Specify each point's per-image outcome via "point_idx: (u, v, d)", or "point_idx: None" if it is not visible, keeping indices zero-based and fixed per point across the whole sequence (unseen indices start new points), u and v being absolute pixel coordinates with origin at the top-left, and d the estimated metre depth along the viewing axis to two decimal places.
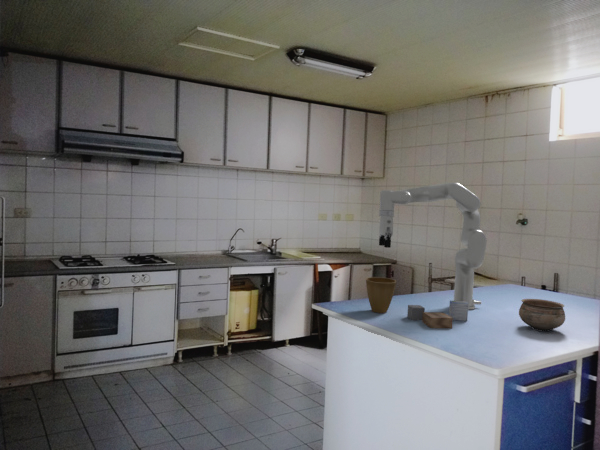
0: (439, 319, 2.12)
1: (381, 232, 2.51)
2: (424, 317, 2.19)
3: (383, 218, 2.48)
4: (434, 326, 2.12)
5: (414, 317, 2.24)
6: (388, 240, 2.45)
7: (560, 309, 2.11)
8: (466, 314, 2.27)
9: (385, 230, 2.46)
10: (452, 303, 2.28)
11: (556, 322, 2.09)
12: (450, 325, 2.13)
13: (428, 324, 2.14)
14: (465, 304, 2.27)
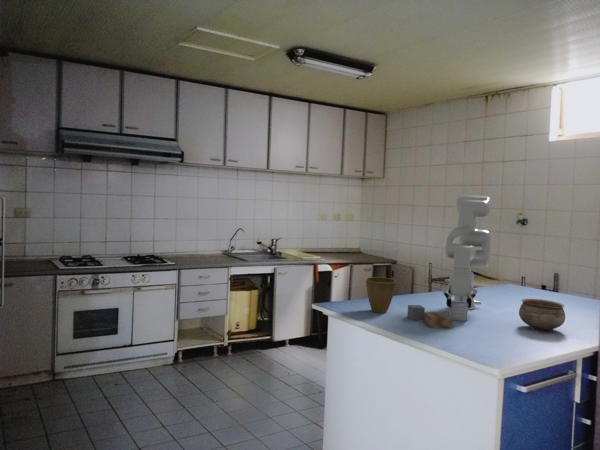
0: (438, 319, 2.12)
1: (462, 292, 2.27)
2: (424, 317, 2.19)
3: (468, 277, 2.27)
4: (433, 326, 2.12)
5: (414, 317, 2.24)
6: None
7: (560, 309, 2.11)
8: (466, 314, 2.27)
9: (471, 289, 2.28)
10: (452, 303, 2.28)
11: (556, 322, 2.09)
12: (450, 325, 2.12)
13: (427, 324, 2.14)
14: (465, 304, 2.27)
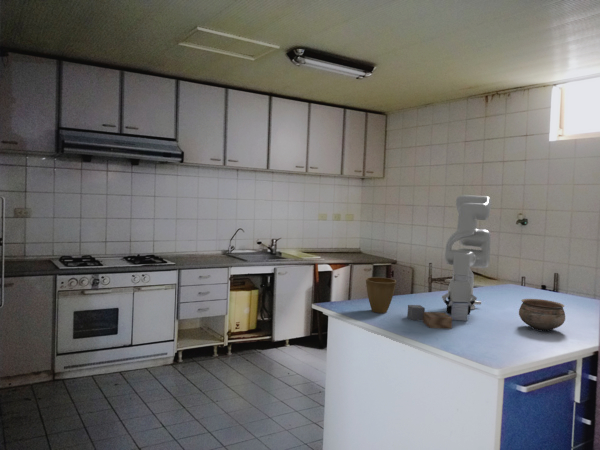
0: (438, 319, 2.12)
1: (461, 299, 2.27)
2: (424, 317, 2.20)
3: (467, 284, 2.27)
4: (433, 326, 2.12)
5: (414, 317, 2.24)
6: None
7: (560, 309, 2.11)
8: (466, 314, 2.27)
9: (470, 296, 2.28)
10: (452, 303, 2.28)
11: (556, 322, 2.09)
12: (449, 325, 2.12)
13: (427, 324, 2.15)
14: (465, 304, 2.27)
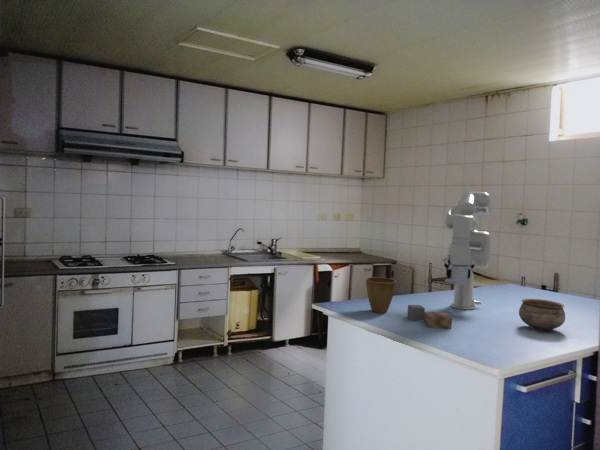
0: (437, 319, 2.12)
1: (461, 262, 2.24)
2: (424, 317, 2.20)
3: (467, 247, 2.24)
4: (432, 326, 2.12)
5: (414, 317, 2.24)
6: None
7: (560, 309, 2.11)
8: (466, 277, 2.24)
9: (470, 260, 2.26)
10: (452, 266, 2.25)
11: (556, 322, 2.09)
12: (449, 325, 2.12)
13: (427, 324, 2.15)
14: (465, 267, 2.24)
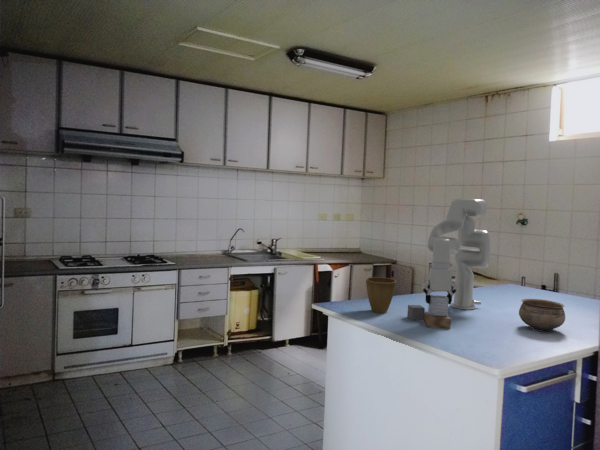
0: (436, 319, 2.12)
1: (441, 288, 2.14)
2: (424, 317, 2.20)
3: (448, 272, 2.14)
4: (431, 326, 2.13)
5: (414, 317, 2.24)
6: None
7: (560, 309, 2.11)
8: (446, 309, 2.15)
9: None
10: (431, 298, 2.15)
11: (556, 322, 2.09)
12: (448, 326, 2.12)
13: (426, 324, 2.15)
14: (445, 299, 2.14)
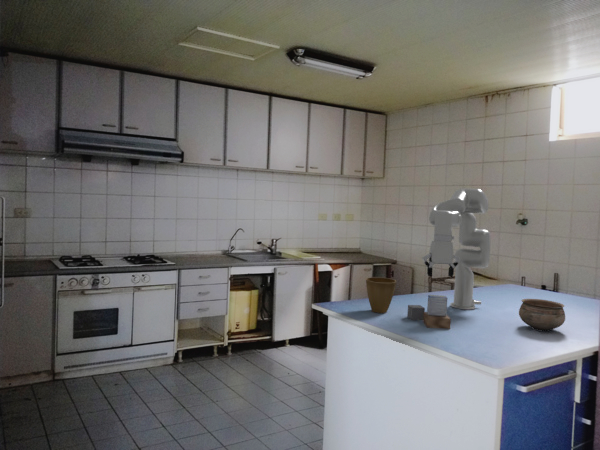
0: (436, 319, 2.12)
1: (443, 261, 2.14)
2: (424, 317, 2.20)
3: (450, 244, 2.13)
4: (431, 326, 2.12)
5: (414, 317, 2.24)
6: None
7: (560, 309, 2.11)
8: (445, 309, 2.15)
9: (453, 257, 2.15)
10: (430, 297, 2.15)
11: (556, 322, 2.09)
12: (448, 326, 2.12)
13: (426, 324, 2.15)
14: (444, 298, 2.14)
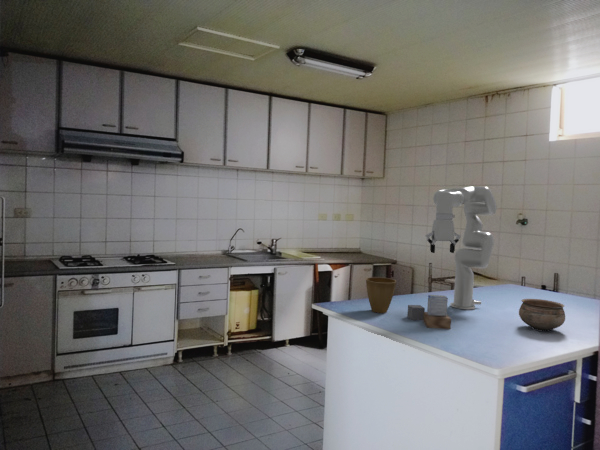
0: (436, 319, 2.12)
1: (445, 238, 2.29)
2: (424, 317, 2.20)
3: (451, 222, 2.29)
4: (431, 326, 2.12)
5: (414, 317, 2.24)
6: None
7: (560, 309, 2.11)
8: (445, 309, 2.14)
9: None
10: (431, 297, 2.15)
11: (556, 322, 2.09)
12: (448, 326, 2.12)
13: (426, 324, 2.15)
14: (444, 298, 2.14)
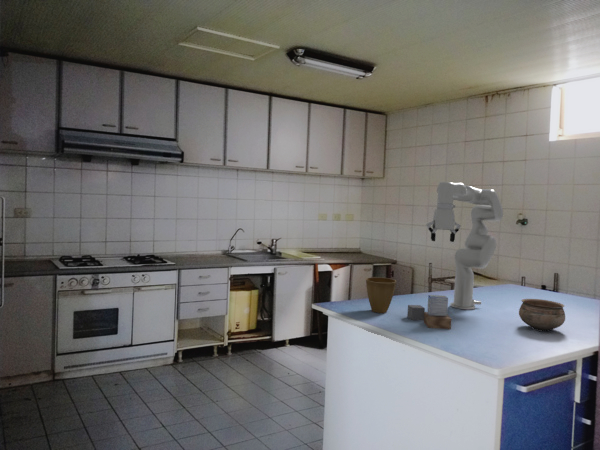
0: (437, 319, 2.12)
1: (445, 227, 2.37)
2: (424, 317, 2.20)
3: (451, 212, 2.36)
4: (432, 326, 2.12)
5: (414, 317, 2.24)
6: None
7: (560, 309, 2.11)
8: (446, 309, 2.14)
9: None
10: (431, 298, 2.14)
11: (556, 322, 2.09)
12: (449, 326, 2.11)
13: (426, 324, 2.14)
14: (445, 298, 2.14)
